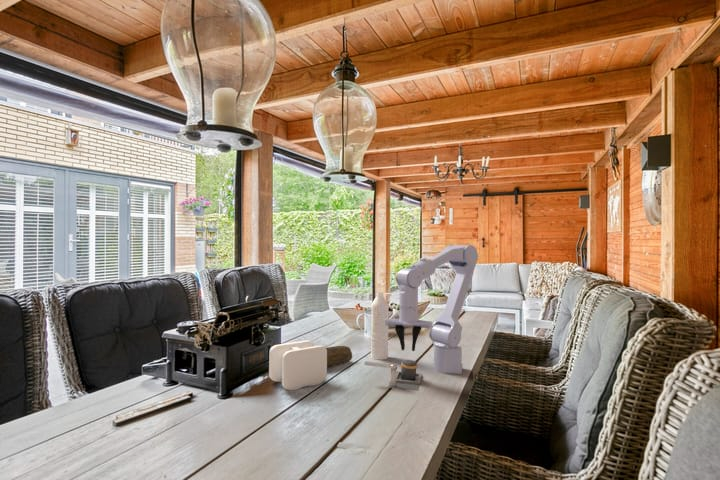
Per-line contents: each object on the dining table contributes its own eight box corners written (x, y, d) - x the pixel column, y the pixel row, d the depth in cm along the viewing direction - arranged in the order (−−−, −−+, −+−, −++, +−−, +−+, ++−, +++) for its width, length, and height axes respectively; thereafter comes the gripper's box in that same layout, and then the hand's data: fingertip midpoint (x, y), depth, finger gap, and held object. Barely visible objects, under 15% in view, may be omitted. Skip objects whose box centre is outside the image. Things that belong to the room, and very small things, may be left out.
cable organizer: (281, 394, 107) (281, 353, 107) (268, 382, 116) (268, 344, 116) (327, 383, 115) (327, 345, 116) (311, 373, 124) (312, 338, 124)
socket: (422, 376, 122) (422, 358, 122) (418, 393, 108) (418, 372, 108) (394, 373, 124) (394, 356, 124) (387, 390, 110) (387, 370, 110)
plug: (412, 375, 120) (413, 359, 120) (417, 381, 116) (419, 365, 115) (398, 375, 119) (399, 359, 119) (403, 381, 115) (404, 365, 114)
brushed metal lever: (397, 367, 112) (397, 364, 112) (396, 369, 110) (396, 366, 110) (366, 363, 115) (366, 360, 115) (364, 365, 114) (364, 362, 114)
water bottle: (367, 358, 140) (367, 291, 140) (379, 355, 144) (380, 290, 144) (383, 364, 133) (384, 294, 134) (396, 360, 138) (396, 293, 138)
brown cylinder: (320, 373, 124) (320, 353, 124) (308, 367, 130) (308, 348, 130) (354, 363, 134) (354, 345, 134) (342, 359, 140) (342, 341, 140)
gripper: (383, 307, 115) (383, 351, 115) (431, 310, 112) (430, 355, 112) (387, 303, 122) (387, 345, 122) (432, 306, 119) (432, 348, 119)
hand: (408, 349), depth 118 cm, fingers open, 3 cm apart
